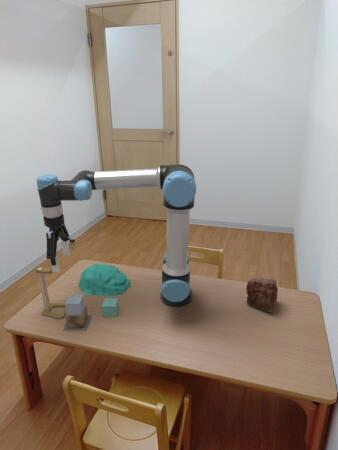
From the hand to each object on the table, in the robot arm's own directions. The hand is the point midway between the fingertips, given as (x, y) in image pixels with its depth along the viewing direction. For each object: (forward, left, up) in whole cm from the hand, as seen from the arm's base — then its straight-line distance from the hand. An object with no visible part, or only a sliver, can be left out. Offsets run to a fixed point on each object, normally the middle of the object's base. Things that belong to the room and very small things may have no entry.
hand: (61, 262), depth 138 cm
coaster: (-5, +6, -26) cm, 28 cm away
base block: (-5, +6, -26) cm, 27 cm away
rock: (-85, -5, -27) cm, 89 cm away
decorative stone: (-10, -24, -27) cm, 37 cm away
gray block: (-5, +6, -20) cm, 21 cm away
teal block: (-18, -1, -27) cm, 32 cm away
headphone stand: (+7, -2, -27) cm, 28 cm away
